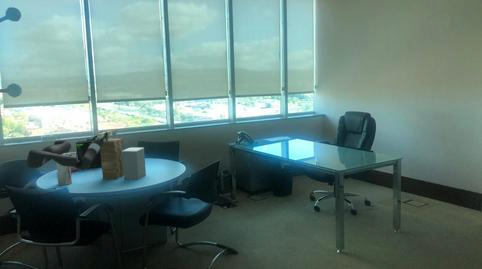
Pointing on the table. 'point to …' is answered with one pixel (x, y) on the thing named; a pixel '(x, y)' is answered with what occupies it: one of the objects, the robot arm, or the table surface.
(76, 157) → the candy bar box
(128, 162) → the light grey box
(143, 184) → the table surface
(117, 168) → the tall stand
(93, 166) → the headset box
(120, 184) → the table surface
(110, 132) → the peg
